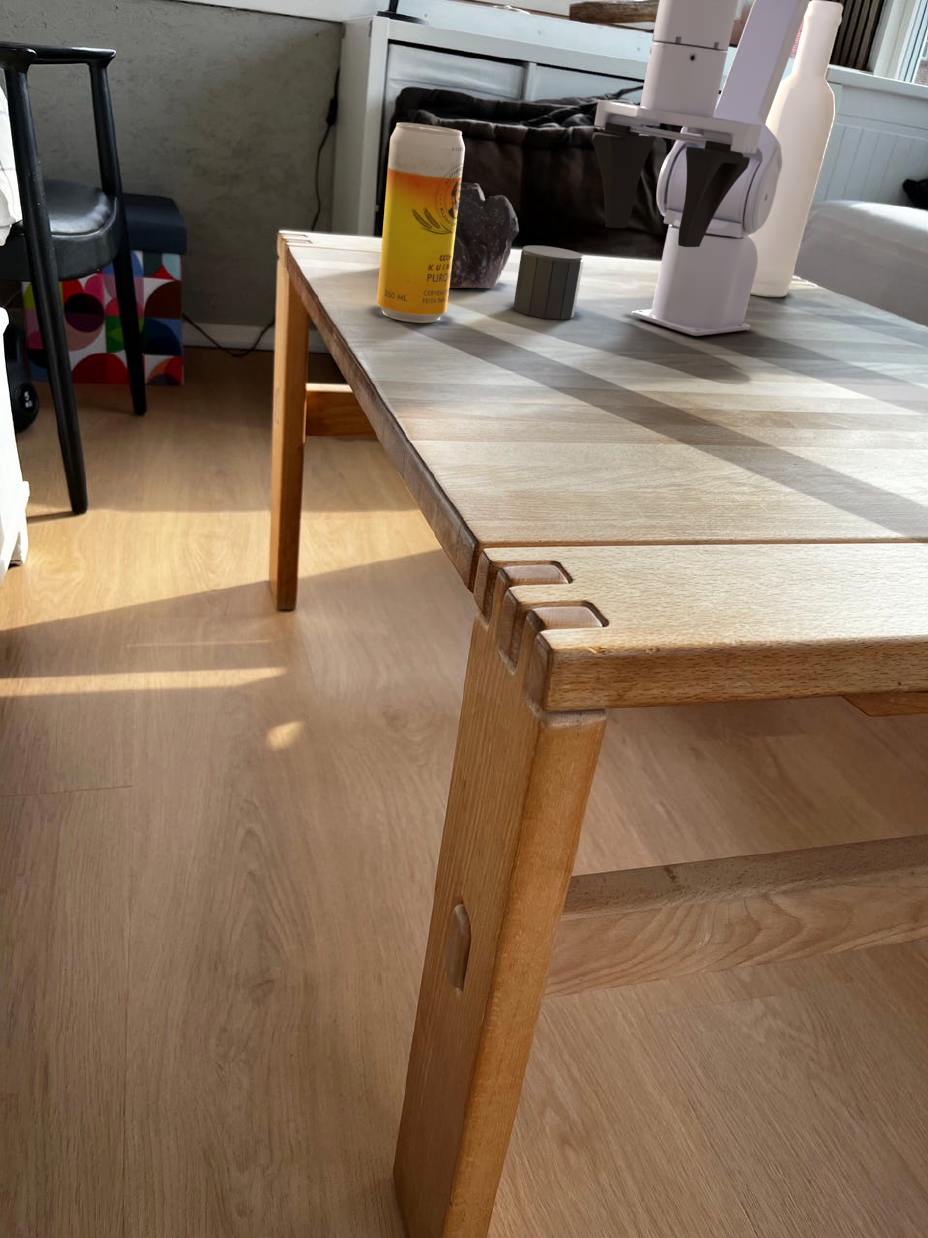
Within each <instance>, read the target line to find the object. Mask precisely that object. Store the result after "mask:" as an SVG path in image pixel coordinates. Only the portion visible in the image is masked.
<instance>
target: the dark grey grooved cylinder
mask: <svg viewBox="0 0 928 1238" xmlns="http://www.w3.org/2000/svg"><path fill="white" fill-rule="evenodd" d="M584 261H585V260H584V255H583V254H582V253H579V252H576V251H574V250H570V249H565V248H561V247H554V246H546V245H525V246H522V250H521V251H520V259H519V266H518V271H517V272H518V273H517V280H516V287H515V293H514V300H513V309H514V310H515V311H516V312H518V313H521V314H523V315H526V316H530V317H535V318H539V319H540V318H541V319H544V320H545V319H547V320H559V321H561V320H570V319H572V318H573V317H575V313H576V307H577V302H578V295H579V290H580V285H581V280H582V279H581V278H582V273H583V266H584Z"/></svg>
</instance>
